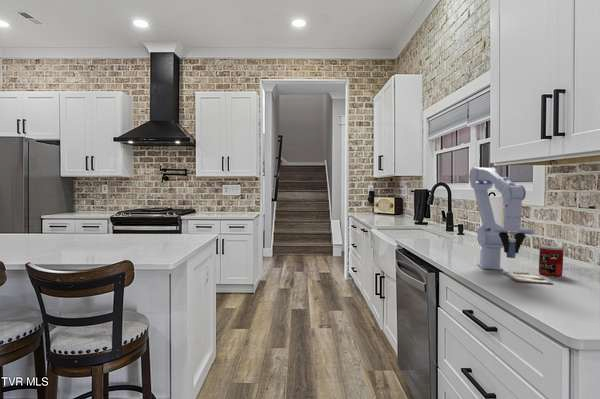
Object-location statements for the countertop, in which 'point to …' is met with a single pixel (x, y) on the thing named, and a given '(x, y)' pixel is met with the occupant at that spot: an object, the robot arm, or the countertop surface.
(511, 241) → the blue-grey cylinder
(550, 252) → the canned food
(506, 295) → the countertop surface
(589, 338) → the countertop surface
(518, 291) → the countertop surface
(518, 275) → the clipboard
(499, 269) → the robot arm
